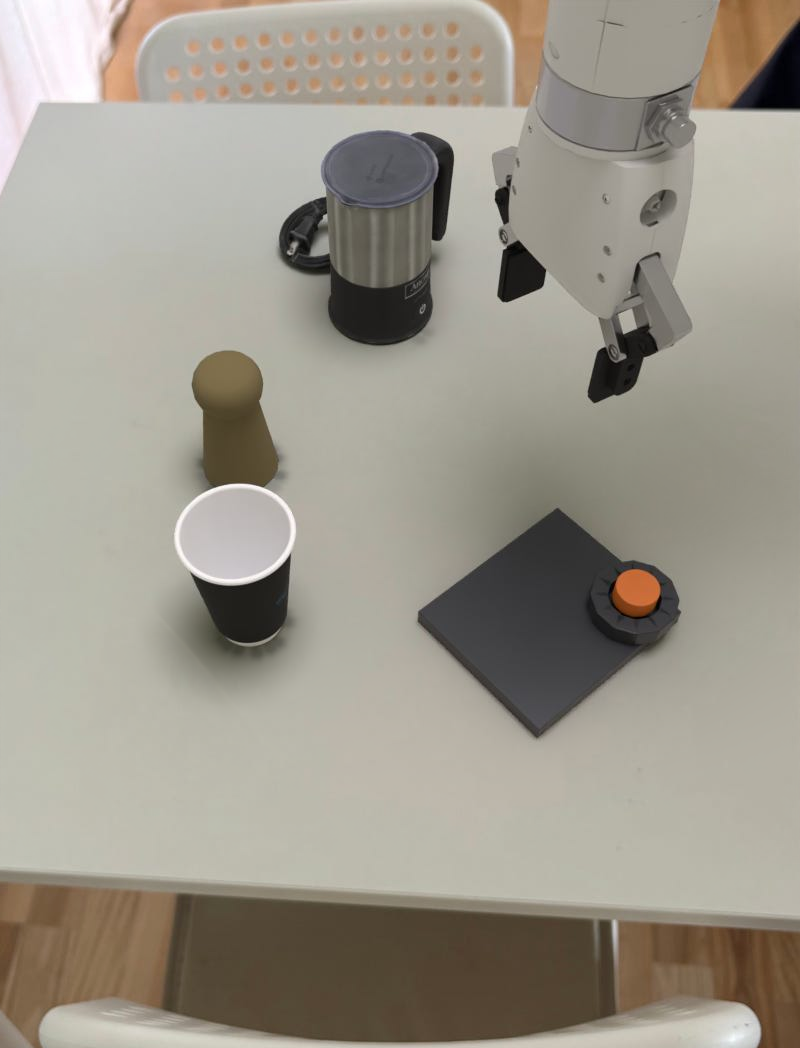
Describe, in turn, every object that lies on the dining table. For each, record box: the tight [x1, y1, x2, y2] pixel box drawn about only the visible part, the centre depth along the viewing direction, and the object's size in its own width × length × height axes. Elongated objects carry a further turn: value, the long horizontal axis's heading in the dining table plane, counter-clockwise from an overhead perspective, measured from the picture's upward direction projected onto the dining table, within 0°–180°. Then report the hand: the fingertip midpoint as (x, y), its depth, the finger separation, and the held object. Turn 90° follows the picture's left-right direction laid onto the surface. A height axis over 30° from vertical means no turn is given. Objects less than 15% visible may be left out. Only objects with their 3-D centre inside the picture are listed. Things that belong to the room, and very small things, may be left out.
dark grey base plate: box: [417, 507, 682, 739], centre depth 78 cm, size 14×12×3 cm
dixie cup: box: [173, 484, 297, 647], centre depth 75 cm, size 8×8×11 cm
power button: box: [612, 569, 660, 617], centre depth 76 cm, size 3×3×2 cm
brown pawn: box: [191, 349, 279, 488], centre depth 83 cm, size 6×6×11 cm
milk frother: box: [278, 129, 455, 345], centre depth 93 cm, size 14×16×15 cm
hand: (563, 340), depth 68 cm, fingers open, 9 cm apart
